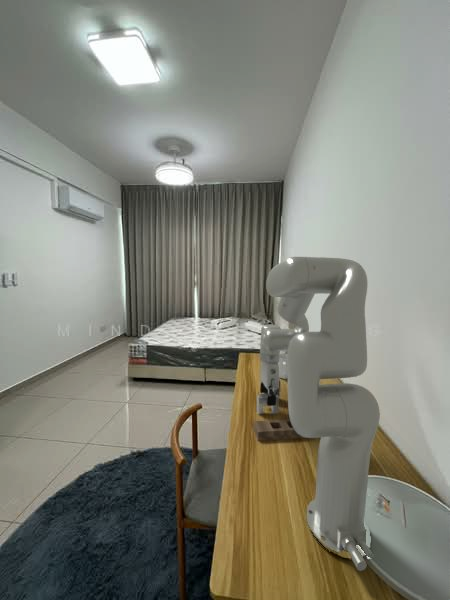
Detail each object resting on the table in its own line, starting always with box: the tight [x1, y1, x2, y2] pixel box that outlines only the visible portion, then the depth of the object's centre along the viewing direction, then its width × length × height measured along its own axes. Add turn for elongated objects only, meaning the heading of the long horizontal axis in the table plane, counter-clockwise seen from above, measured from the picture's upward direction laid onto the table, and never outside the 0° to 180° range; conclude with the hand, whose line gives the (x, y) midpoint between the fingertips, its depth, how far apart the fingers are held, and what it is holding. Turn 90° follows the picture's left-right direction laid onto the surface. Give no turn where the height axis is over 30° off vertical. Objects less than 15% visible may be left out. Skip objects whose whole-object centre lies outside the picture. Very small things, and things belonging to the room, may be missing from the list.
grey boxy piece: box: [256, 393, 280, 416], centre depth 97 cm, size 8×3×7 cm, turn 97°
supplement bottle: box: [263, 379, 281, 401], centre depth 107 cm, size 7×7×12 cm
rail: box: [253, 419, 308, 441], centre depth 84 cm, size 20×6×3 cm, turn 97°
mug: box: [278, 353, 287, 380], centre depth 131 cm, size 12×9×11 cm
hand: (267, 398), depth 97 cm, fingers open, 9 cm apart
